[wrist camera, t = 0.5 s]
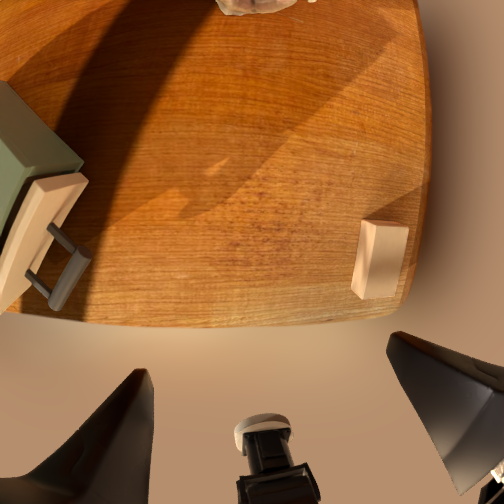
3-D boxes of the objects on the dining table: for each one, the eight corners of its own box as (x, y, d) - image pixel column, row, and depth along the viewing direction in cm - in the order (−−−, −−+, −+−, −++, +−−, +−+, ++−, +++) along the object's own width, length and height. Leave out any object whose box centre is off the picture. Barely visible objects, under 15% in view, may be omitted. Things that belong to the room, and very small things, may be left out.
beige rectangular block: (361, 218, 24) (376, 225, 21) (394, 220, 24) (409, 227, 22) (350, 288, 26) (362, 300, 24) (381, 286, 27) (394, 296, 24)
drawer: (127, 215, 20) (95, 240, 13) (61, 314, 21) (31, 357, 15) (8, 97, 14) (-38, 89, 7) (-39, 202, 15) (-80, 218, 9)
